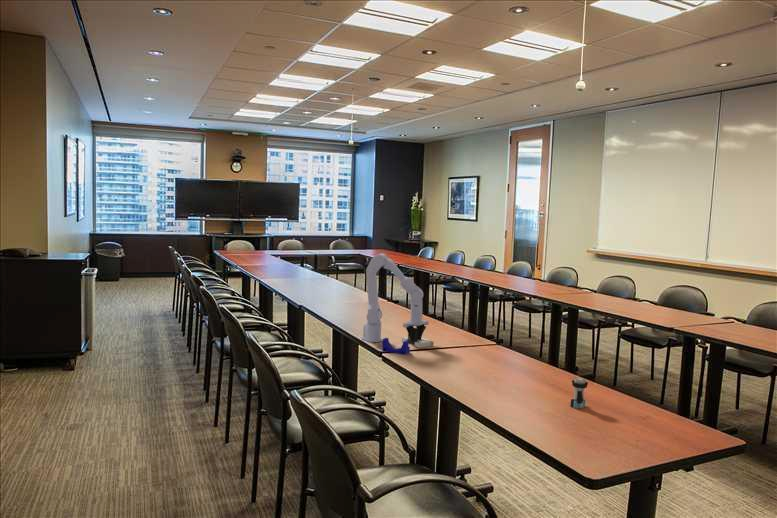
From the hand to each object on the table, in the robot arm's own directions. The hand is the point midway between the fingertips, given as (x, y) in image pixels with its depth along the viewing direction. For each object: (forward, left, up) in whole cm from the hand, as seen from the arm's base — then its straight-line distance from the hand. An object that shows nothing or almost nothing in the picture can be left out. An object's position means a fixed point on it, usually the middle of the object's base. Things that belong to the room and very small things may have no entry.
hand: (415, 340), depth 275 cm
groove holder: (0, +1, -2) cm, 2 cm away
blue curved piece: (+8, -17, -2) cm, 19 cm away
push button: (+98, -2, -2) cm, 98 cm away
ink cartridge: (-1, -1, -2) cm, 2 cm away
